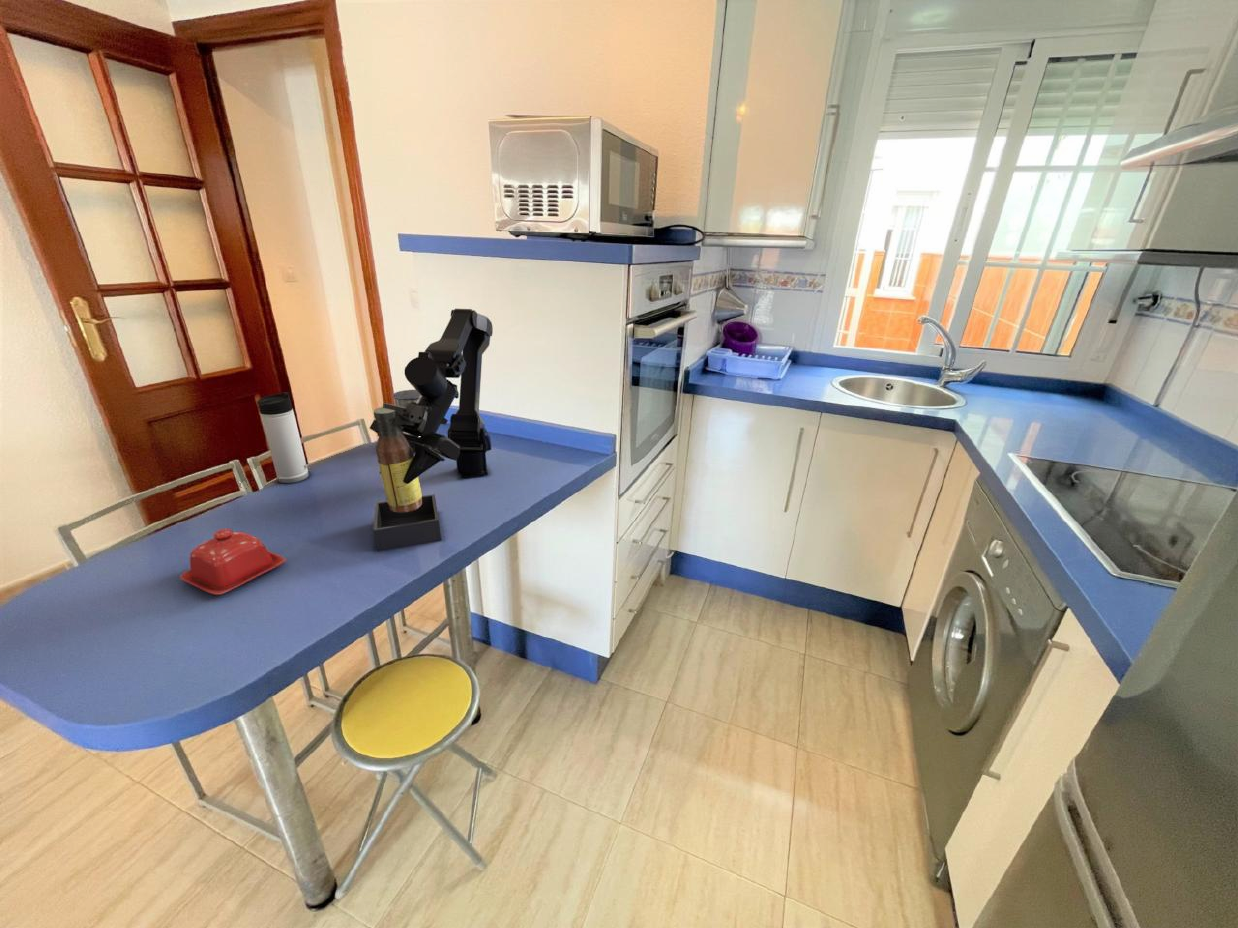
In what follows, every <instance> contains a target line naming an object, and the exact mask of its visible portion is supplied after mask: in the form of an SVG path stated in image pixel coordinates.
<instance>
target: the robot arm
mask: <svg viewBox="0 0 1238 928" xmlns="http://www.w3.org/2000/svg"><path fill="white" fill-rule="evenodd" d="M493 332H494V331H493V323H492V321H491V320H490V319H489V317H488V316H485V315H484V314H483V315H482V314H480V313H478V312H477V311H476V310H474V309H472V308H454V309H451V311H450V318H449V320H448V322H447V325H446V326H445V328H444V330H443V332H442V335H441V336H440V339H439V340H437V341H433V342H431V343H430V344H429V345H428V346H427V347H426V348H425V350H424V351H418V355H417V356H416V357H415V358H413V359H411V360H410V361H409V362H408V363H407V365H406V366H405V367H404V376H405V379H406V380H407V382H409V384H410V385H411V386H412V387H413V388H414V390H416V391H417V392H418V393H419V394H420V395H421V396H420V397H419V399H418V401H417V403H414V402H411V403H409V404H408V405H407V406H406V408H405V407H401V406H396V405H395V404H392V403H391V404H390V403H387V402H383V403H382V407H383V408H387V409H391V410H395V411H396V412H395V418H394V420H393V422H392V423H393V424H397V425H400V426H401V427H402V431H403V433H404V435H405V437H406V439H407V440H408V441H409V442H413V443H416V444H414V448H415V450H414V458H413V460H412V462H411V464H410V466H409V468H408V470H407V472H406V474H405V477H404V480H403V482H404V483H406V484H409V483H410V482H411V481H413V480H414V479H415V478H417V477H418V478H419V477H420V476H421V475H423V473H425V472H426V471H428V470H429V469H431V468H432V467H434V466H435V465H437V464H438V463H440V462H444V461H445V460H446V459H449V460H451V461H454V462H455V463H456V464H455V465H456V471H457V473H458V474H459V476H460V478H461V479H467V478H475V477H483V476H489V470H488V467H487V456H486V453H487V452H489V451H491V450H492V441H491V436H490V434H489V432H488V431H487V429H486V423H485V421H484V419H483V418H482V416H481V413H480V399H481V397H480V396H481V382H482V379H481V378H482V365H483V363H482V362H483V355H484V353H485V352H486V350H488V348H489V346H490V342H491V337H492V336H493ZM459 378H460V383H459V385H460V386H459V391H458V385H457V384H455V383H453V382H451V381H450V380H449V379H459ZM455 399H459V400H458V409H457V411H456V412H455V413H452V414H451V415H450V419H449V420H448V419H446V418H445V417H446V415H447V413H448V411H449V409H450V408H451V406H452V404H453V402H454V400H455ZM448 421H450V422H449V427H448V429H447V436H446V435H445V434H440V433H437V432H438V430H439V428H440V427H441V425H444V426H447V423H448ZM369 429H370V430H371V431H373V432H374V433H376V434H377V437H379V432H378V431H379V429H378V424H377V420H376V419H375V418H374V419H373V421H372V422H371V425H370V426H369ZM419 439H421V440H419ZM418 444H420V445H418ZM422 445H423V446H422ZM379 475H381V472H380V471H379Z"/></svg>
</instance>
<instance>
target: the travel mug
mask: <svg viewBox="0 0 1238 928" xmlns="http://www.w3.org/2000/svg"><path fill="white" fill-rule="evenodd" d="M291 397H292V395H291V393H290V392H281V393H274V394H270V395H265V396H263V397H261V398H259V399H258V400H257V407H258V409H259V415H260V419H261V423H262V426H263V430H264V434H265V437H266V442H267V445H268V448H269V453H270V456H271V460H272V463H273V467H274V471H275V475H276V478H277V481H278V482H279V483H282V484H293V483H294V484H295V483H298V482H302V481H304V480H305V479H307V478H309V474H310V473H309V469H308V466H307V461H306V458H305V457H306V456H305V454H304V448H303V445H302V441H301V436H300V432H299V429H298V424H297V420H296V416H295V412H294V408H293V405H292V401H291ZM281 477H283V478H281ZM279 478H281V479H279ZM278 479H279V480H278Z"/></svg>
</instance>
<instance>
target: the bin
mask: <svg viewBox="0 0 1238 928" xmlns="http://www.w3.org/2000/svg"><path fill="white" fill-rule="evenodd" d="M421 498H422V505H421V506H420V507H419V508H418V509H417V510H414V511H411V512H407V513H397V512H393V511H391V510H390V508H389V504H388V503H387V500H385V501H377V502H375V503H374V504H375V505H374V518H373V519H374V520H373V521H374V522H373V534H374V539H375V544H376V549H377V552H381V551H387V550H393V549H399V548H405V547H410V546H417V545H421V544H428V543H433V542H439V541H442V533H441V526H440V519H439V512H438V507H437V500H436V495H435V493H433V494H426V495H422V497H421Z"/></svg>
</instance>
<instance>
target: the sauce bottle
mask: <svg viewBox="0 0 1238 928" xmlns="http://www.w3.org/2000/svg"><path fill="white" fill-rule="evenodd" d="M395 412H396V411H395V410H391V409H387V408H383V406H381V407H378V408H376V409H375V408H374V410H373V416H374V420H375V419H376V420H377V424H378V429H379V431H378V432H379V436H378V438H377V441H376V445H375V452H376V456H377V464H378V468H379V473H380V472H381V474H380V476H381V477H380V478H381V480H382V481H381V482H382V485H383V489H384V493H385V498H386V501H387V503H388V504H389V508H390V510H391V511H393V512H397V513H407V512H411V511H414V510H417V509H418V508H419V507H420V506H421V505H422V498H421V497H422V496H423V495H422V489H421V484H420V479H419V476H418V477H417V478H415V479H414V480H413V481H411V482H410V483H409V484H406V483H404V482H403V480H404V477H405V474H406V472H407V470H408V468H409V466H410V464H411V462H412V460H413V458H414V455H415V452H414V450H413V449H412V447H411V446H410V444H409V442H408V440H407V439H406V437H405V435H404V433H403V431H402V428H401V426H400V425H397V424H393V423H392V422H393V420H394V418H395Z"/></svg>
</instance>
